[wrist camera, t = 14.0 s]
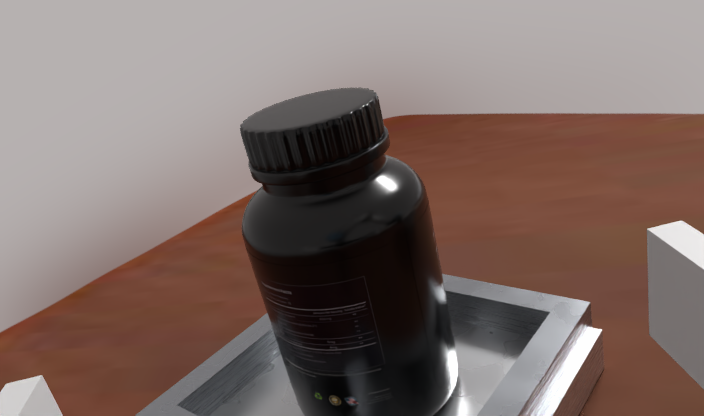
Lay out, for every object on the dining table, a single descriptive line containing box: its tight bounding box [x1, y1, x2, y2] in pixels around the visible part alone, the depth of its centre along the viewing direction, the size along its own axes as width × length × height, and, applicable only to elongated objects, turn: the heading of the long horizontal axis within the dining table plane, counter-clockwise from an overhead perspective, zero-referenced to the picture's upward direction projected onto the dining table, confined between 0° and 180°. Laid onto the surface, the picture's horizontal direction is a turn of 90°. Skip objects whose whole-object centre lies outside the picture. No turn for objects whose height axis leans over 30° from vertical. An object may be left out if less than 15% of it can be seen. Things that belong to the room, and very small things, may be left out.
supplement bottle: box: [240, 88, 458, 416], centre depth 23 cm, size 7×7×12 cm
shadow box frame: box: [135, 274, 604, 416], centre depth 25 cm, size 14×14×4 cm
